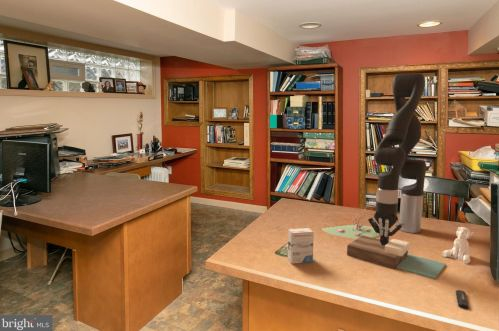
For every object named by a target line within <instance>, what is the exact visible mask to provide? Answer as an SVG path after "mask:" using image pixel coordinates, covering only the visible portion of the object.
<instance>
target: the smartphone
mask: <svg viewBox="0 0 499 331" xmlns="http://www.w3.org/2000/svg"><path fill="white" fill-rule="evenodd" d="M274 255H277V256H281V257H285V258H288V242H287V243H285V244H284V245H283V246H281V247H280V248H279V249H277V250H275V251H274Z"/></svg>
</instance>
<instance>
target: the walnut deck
mask: <svg viewBox="0 0 499 331" xmlns="http://www.w3.org/2000/svg"><path fill="white" fill-rule="evenodd" d="M408 253H409V249H408V250H407V251H406V252H405V254H404V255H403V256H398V255H394V254H390V253H386V252H385V246H384V245H381V243H380V238H379V239H378V238H377V237H376V238H371V237H367V236H363V235H362V236H361V237H359V238H358V239H354V240H353V241H352V242H350V243H349V244H347V248H346V256H349V257H352V258H356V259H360V260H362V261H366V262H371V263H374V264H376V265H381V266H384V267H387V268H390V269H397V268H396V266H397V265H398V264H399V263H400V262H401V261H402V260H403V259H405V258H406V257H407V256H408V255H409V254H408Z"/></svg>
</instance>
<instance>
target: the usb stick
mask: <svg viewBox="0 0 499 331" xmlns="http://www.w3.org/2000/svg"><path fill="white" fill-rule="evenodd" d="M455 294H456V295H455V296H456V301H457V306H458V308H460V309H464V310H469V308H470V306H469V303H468V299H467V297H468V296H467V294H466V291H464V290H460V289H457V290H456V291H455Z"/></svg>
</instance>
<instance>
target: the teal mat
mask: <svg viewBox="0 0 499 331" xmlns="http://www.w3.org/2000/svg"><path fill="white" fill-rule="evenodd" d="M445 267H446V263H444V262H441V261H437V260H433V259H430V258H429V259H428V258H425V257H422V256H421V257H420V256H417V255H413V254H408V256H407V257H406V258H405V259H403V260H402V261H401V262H400V263H399V264H398V265H397V266H396V268H395V269H398V270H401V271H405V272H408V273H412V274H416V275H419V276H422V277H427V278H429V279H433V280H436V279H437V278H438V276H439V275H440V274H441V272H442V271H443V269H444V268H445Z"/></svg>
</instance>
